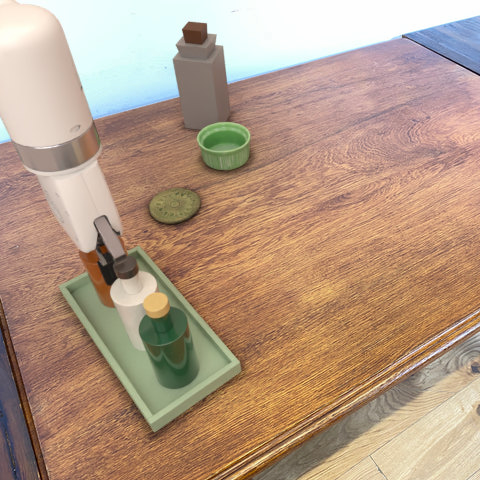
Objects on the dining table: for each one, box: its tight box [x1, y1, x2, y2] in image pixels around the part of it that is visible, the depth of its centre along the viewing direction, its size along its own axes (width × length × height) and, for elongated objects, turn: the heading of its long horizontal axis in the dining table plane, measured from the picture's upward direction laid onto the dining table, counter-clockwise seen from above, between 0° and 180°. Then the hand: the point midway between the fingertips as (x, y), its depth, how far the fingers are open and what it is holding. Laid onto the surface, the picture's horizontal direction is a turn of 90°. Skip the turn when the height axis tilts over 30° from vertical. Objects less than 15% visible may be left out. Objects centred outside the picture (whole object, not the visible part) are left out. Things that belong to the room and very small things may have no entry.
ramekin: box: [196, 121, 252, 171], centre depth 88 cm, size 9×9×4 cm
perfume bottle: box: [172, 21, 232, 131], centre depth 91 cm, size 7×7×18 cm
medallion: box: [148, 187, 202, 225], centre depth 80 cm, size 8×8×1 cm
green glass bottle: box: [139, 292, 199, 389], centre depth 55 cm, size 5×5×13 cm
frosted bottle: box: [110, 256, 160, 351], centre depth 58 cm, size 5×5×13 cm
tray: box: [58, 245, 242, 433], centre depth 63 cm, size 24×11×2 cm, turn 42°
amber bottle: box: [78, 234, 129, 308], centre depth 64 cm, size 5×5×11 cm
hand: (107, 262), depth 63 cm, fingers open, 5 cm apart
